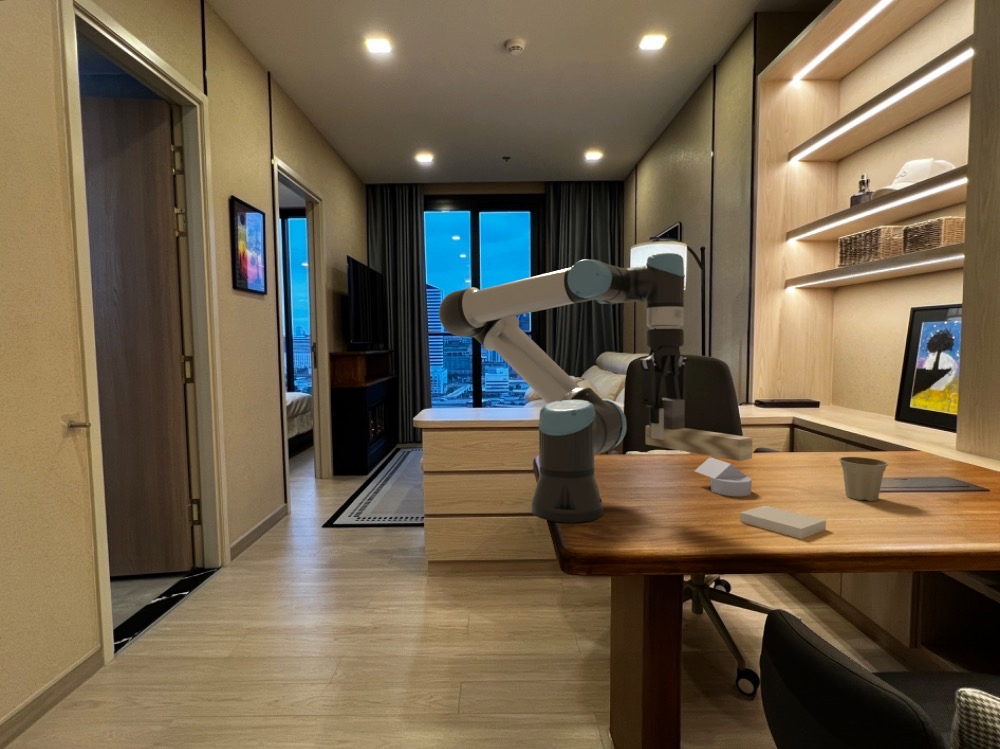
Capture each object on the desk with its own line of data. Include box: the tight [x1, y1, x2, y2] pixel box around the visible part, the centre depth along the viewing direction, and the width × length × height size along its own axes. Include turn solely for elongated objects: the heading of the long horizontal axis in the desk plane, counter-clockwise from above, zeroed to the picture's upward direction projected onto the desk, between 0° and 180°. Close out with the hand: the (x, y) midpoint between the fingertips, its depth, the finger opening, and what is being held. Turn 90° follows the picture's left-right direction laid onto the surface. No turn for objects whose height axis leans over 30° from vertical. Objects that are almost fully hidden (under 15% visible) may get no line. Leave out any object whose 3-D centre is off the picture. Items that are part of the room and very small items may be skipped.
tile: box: [739, 505, 827, 540], centre depth 105 cm, size 9×2×12 cm
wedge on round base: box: [694, 456, 752, 497], centre depth 132 cm, size 9×7×13 cm
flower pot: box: [838, 456, 889, 502], centre depth 124 cm, size 9×9×9 cm
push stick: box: [644, 397, 753, 462], centre depth 109 cm, size 22×4×10 cm, turn 35°
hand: (664, 437), depth 115 cm, fingers closed on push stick, 4 cm apart
